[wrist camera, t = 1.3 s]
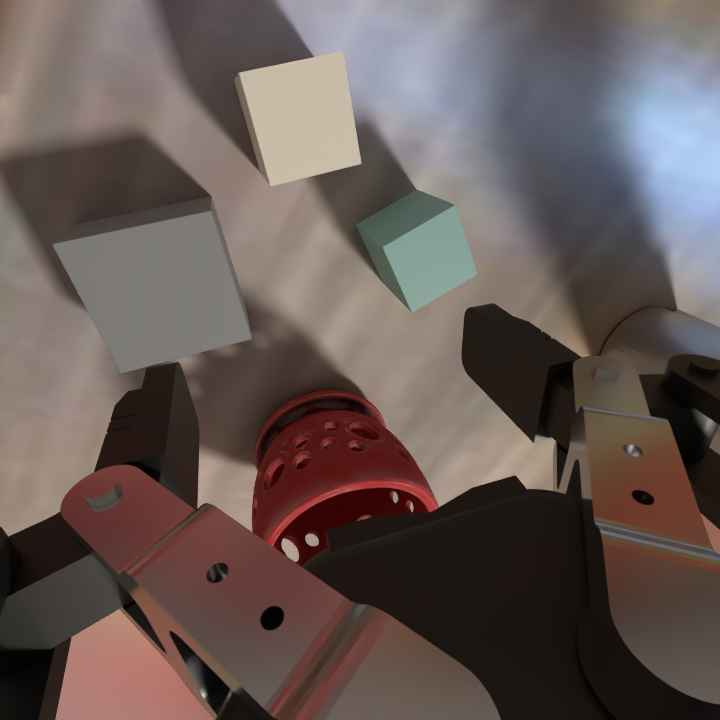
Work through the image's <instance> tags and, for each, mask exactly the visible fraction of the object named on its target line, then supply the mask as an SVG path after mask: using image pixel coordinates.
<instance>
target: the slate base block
mask: <svg viewBox="0 0 720 720" xmlns="http://www.w3.org/2000/svg"><path fill="white" fill-rule="evenodd" d="M52 245H53V247H54V249H55V251H56V252H57V254H58V256H59V258H60V260H61V262H62V264H63V266H64V267H65V269H66V271H67V273H68V275H69V277H70V279H71V281H72V283H73V284H74V286H75V288H76V290H77V292H78V294H79V296H80V298H81V300H82V301H83V303H84V305H85V307H86V309H87V311H88V313H89V315H90V317H91V318H92V320H93V322H94V324H95V326H96V328H97V330H98V332H99V333H100V335H101V337H102V339H103V341H104V343H105V345H106V347H107V349H108V350H109V352H110V354H111V356H112V358H113V360H114V362H115V364H116V366H117V367H118V369H119V371H120V373H125V372H128V371H132V370H136V369H140V368H144V367H148V366H151V365H155V364H159V363H163V362H167V361H170V360H174V359H178V358H182V357H186V356H189V355H193V354H197V353H201V352H205V351H209V350H212V349H216V348H220V347H224V346H228V345H231V344H235V343H239V342H243V341H247V340H251V339H252V337H251V331H250V325H249V319H248V313H247V309H246V305H245V302H244V299H243V296H242V293H241V289H240V286H239V283H238V280H237V277H236V273H235V270H234V267H233V264H232V261H231V257H230V254H229V251H228V248H227V245H226V241H225V238H224V235H223V232H222V229H221V225H220V222H219V219H218V216H217V213H216V209H215V206H214V203H213V200H212V197H211V196H209V197H204V198H199V199H194V200H189V201H184V202H179V203H175V204H170V205H165V206H160V207H155V208H150V209H145V210H140V211H135V212H130V213H126V214H121V215H116V216H111V217H106V218H101V219H96V220H91V221H86V222H81V223H77V224H76V225H74V226H73V227H72V228H71V229H70V230H68V231H67V232H66V233H65V234H64V235H62V236H61V237H60V238H59V239H58V240H57V241H55V242H54V243H53V244H52Z"/></svg>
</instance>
